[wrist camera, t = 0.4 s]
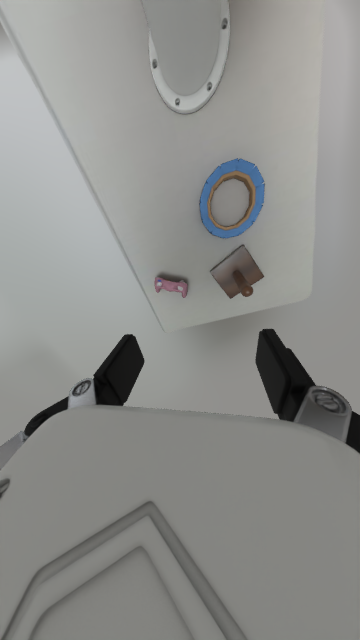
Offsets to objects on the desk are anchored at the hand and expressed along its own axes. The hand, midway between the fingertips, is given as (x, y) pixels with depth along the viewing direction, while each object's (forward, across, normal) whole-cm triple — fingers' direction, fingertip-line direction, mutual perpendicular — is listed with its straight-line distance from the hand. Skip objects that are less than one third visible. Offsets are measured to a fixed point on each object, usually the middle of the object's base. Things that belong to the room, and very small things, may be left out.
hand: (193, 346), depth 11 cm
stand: (+34, -9, +4) cm, 36 cm away
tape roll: (+34, -7, -11) cm, 37 cm away
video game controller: (+35, +10, +6) cm, 36 cm away
